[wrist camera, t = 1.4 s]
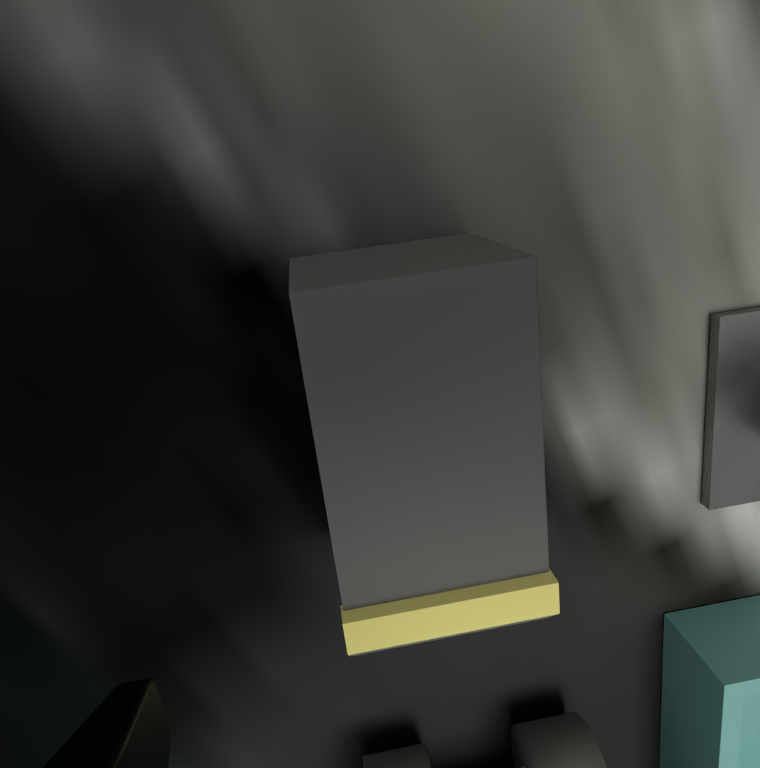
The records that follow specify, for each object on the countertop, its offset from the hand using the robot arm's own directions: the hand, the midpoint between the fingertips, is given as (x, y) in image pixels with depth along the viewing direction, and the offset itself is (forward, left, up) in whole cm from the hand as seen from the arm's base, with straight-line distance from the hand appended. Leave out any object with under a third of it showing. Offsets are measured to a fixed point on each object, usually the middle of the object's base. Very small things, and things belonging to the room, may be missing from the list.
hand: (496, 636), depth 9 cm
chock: (0, 0, -10) cm, 10 cm away
